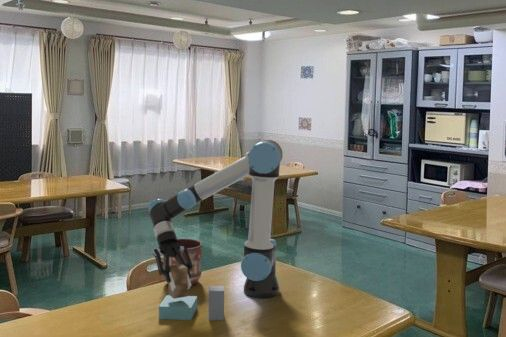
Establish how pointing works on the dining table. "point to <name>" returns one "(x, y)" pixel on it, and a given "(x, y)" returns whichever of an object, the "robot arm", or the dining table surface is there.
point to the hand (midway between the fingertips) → (181, 288)
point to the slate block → (216, 302)
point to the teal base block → (178, 308)
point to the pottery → (191, 257)
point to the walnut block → (179, 281)
